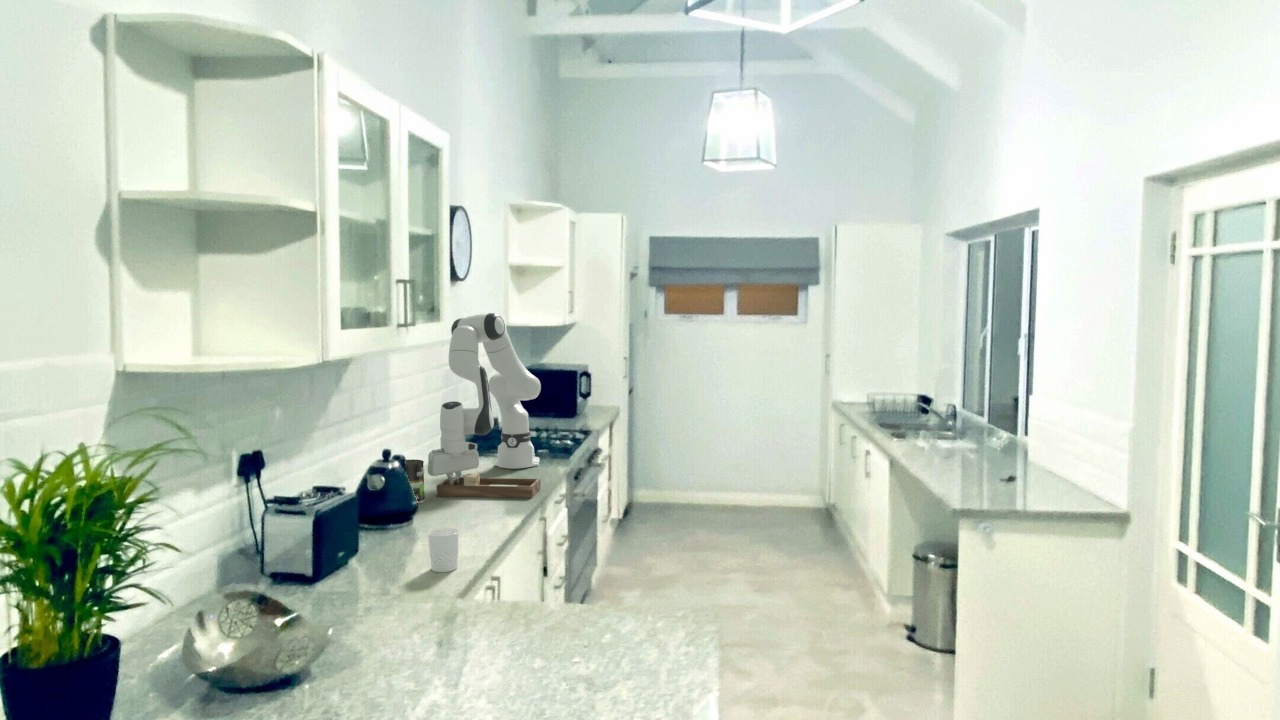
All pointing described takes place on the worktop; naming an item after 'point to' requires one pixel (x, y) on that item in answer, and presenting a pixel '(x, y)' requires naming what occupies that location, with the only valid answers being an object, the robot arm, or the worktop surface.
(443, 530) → the white cup
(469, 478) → the birch block
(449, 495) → the track
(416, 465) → the coffee can
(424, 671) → the worktop surface
